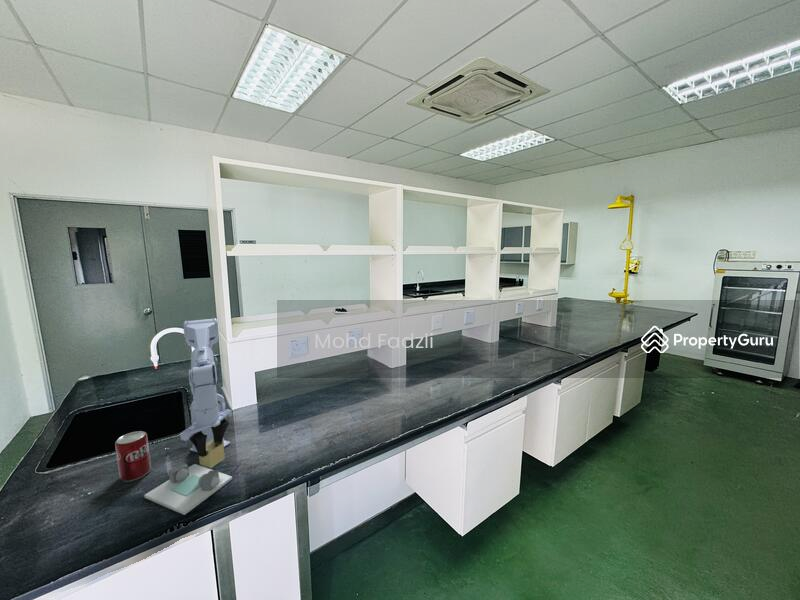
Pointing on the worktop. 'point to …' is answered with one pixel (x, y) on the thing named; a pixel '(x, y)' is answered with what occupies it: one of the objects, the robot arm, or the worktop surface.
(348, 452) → the worktop surface
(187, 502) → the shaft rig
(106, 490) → the worktop surface
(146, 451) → the soda can
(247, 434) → the worktop surface
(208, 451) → the block
